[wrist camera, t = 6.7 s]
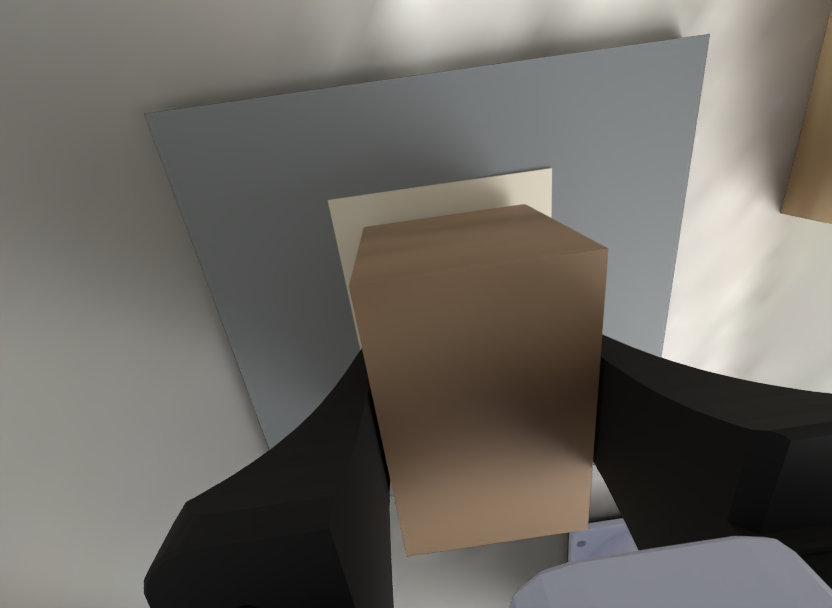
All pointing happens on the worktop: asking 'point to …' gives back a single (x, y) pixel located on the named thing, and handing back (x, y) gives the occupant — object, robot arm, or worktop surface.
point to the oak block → (814, 148)
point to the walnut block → (483, 371)
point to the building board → (427, 192)
